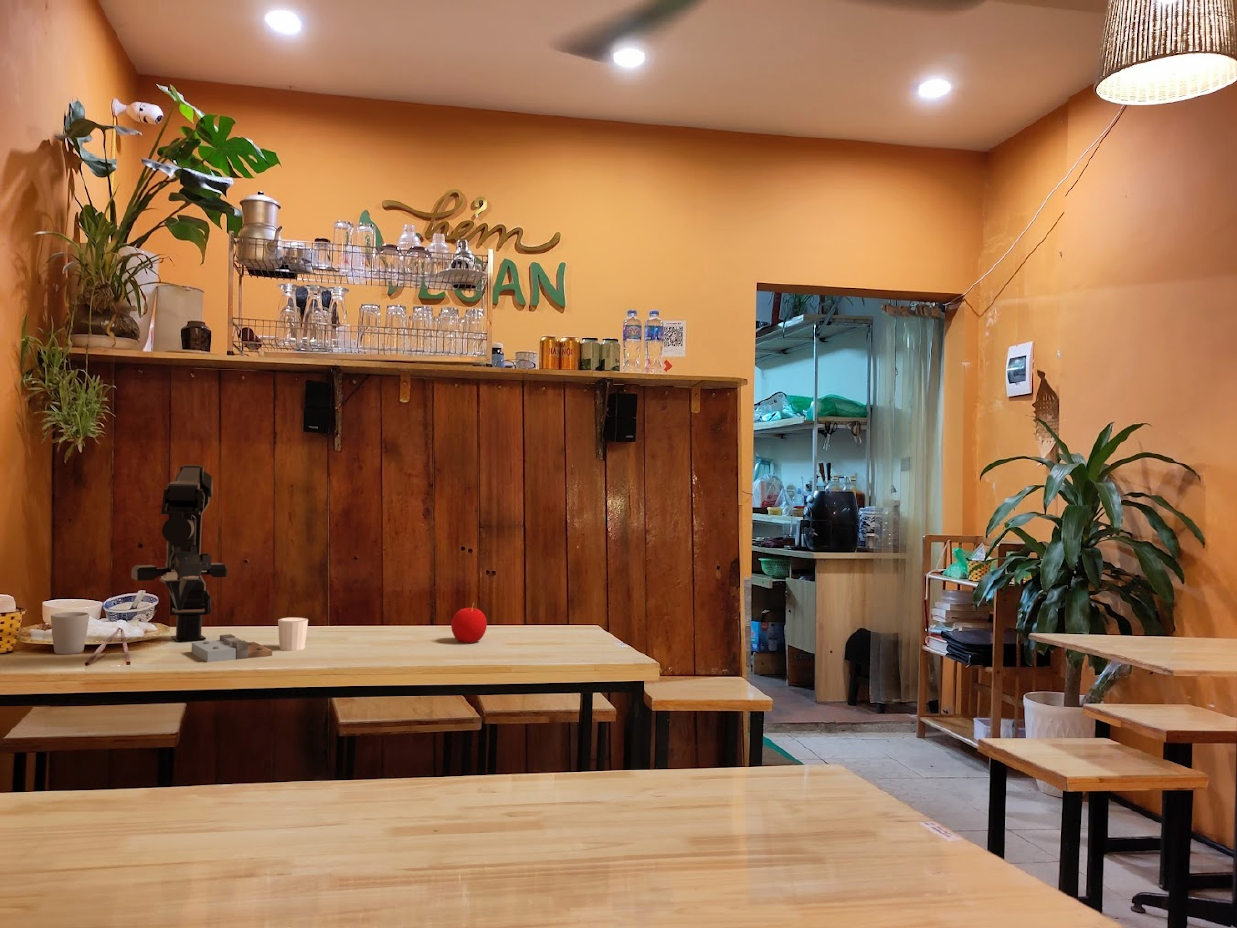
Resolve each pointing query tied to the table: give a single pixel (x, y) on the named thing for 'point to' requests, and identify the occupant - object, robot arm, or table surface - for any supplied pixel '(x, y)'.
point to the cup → (69, 631)
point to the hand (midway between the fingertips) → (178, 610)
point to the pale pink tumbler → (292, 633)
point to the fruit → (469, 625)
